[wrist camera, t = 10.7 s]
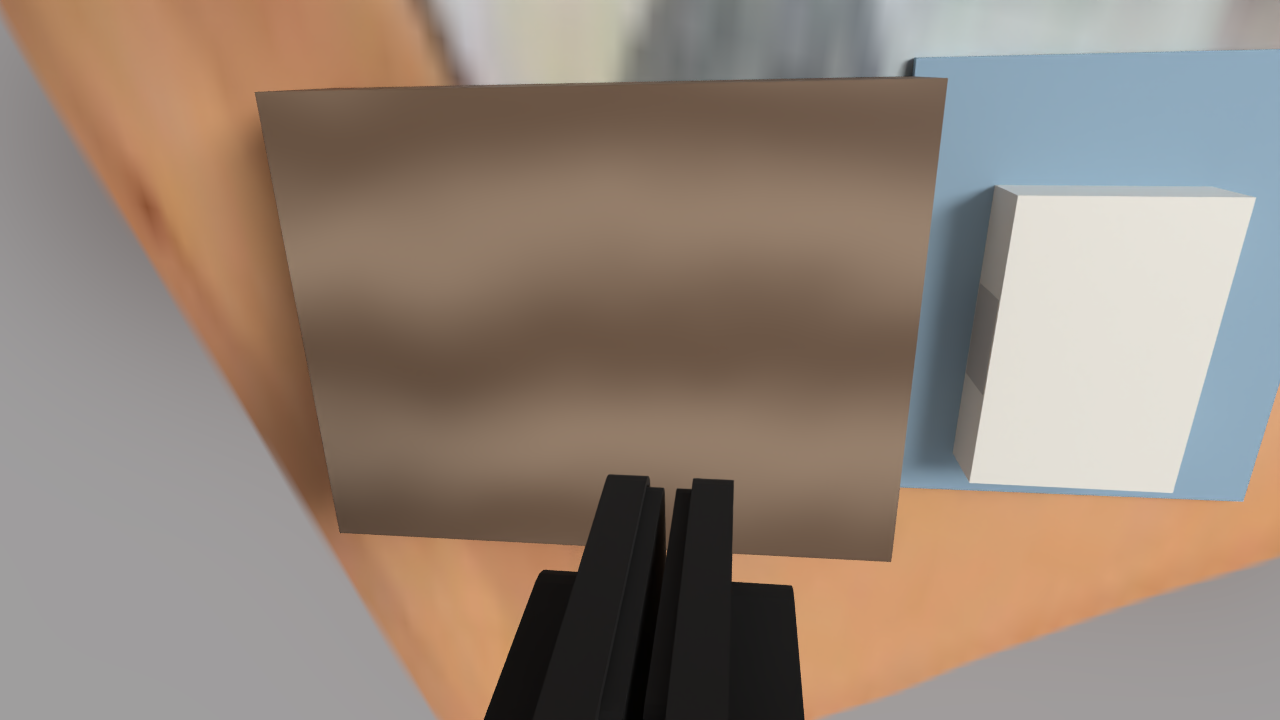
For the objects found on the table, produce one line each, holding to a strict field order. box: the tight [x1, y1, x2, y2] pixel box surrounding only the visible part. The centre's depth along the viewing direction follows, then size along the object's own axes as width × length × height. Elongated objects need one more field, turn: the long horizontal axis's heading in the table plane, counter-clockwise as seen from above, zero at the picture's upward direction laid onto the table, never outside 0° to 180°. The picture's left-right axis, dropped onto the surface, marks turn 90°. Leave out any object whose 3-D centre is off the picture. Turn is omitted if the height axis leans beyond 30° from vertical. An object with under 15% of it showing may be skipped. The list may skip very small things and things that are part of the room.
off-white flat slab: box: [953, 185, 1256, 493], centre depth 23 cm, size 9×6×2 cm, turn 1°
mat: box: [900, 49, 1280, 501], centre depth 23 cm, size 14×12×1 cm
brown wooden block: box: [255, 76, 948, 562], centre depth 24 cm, size 14×18×4 cm
